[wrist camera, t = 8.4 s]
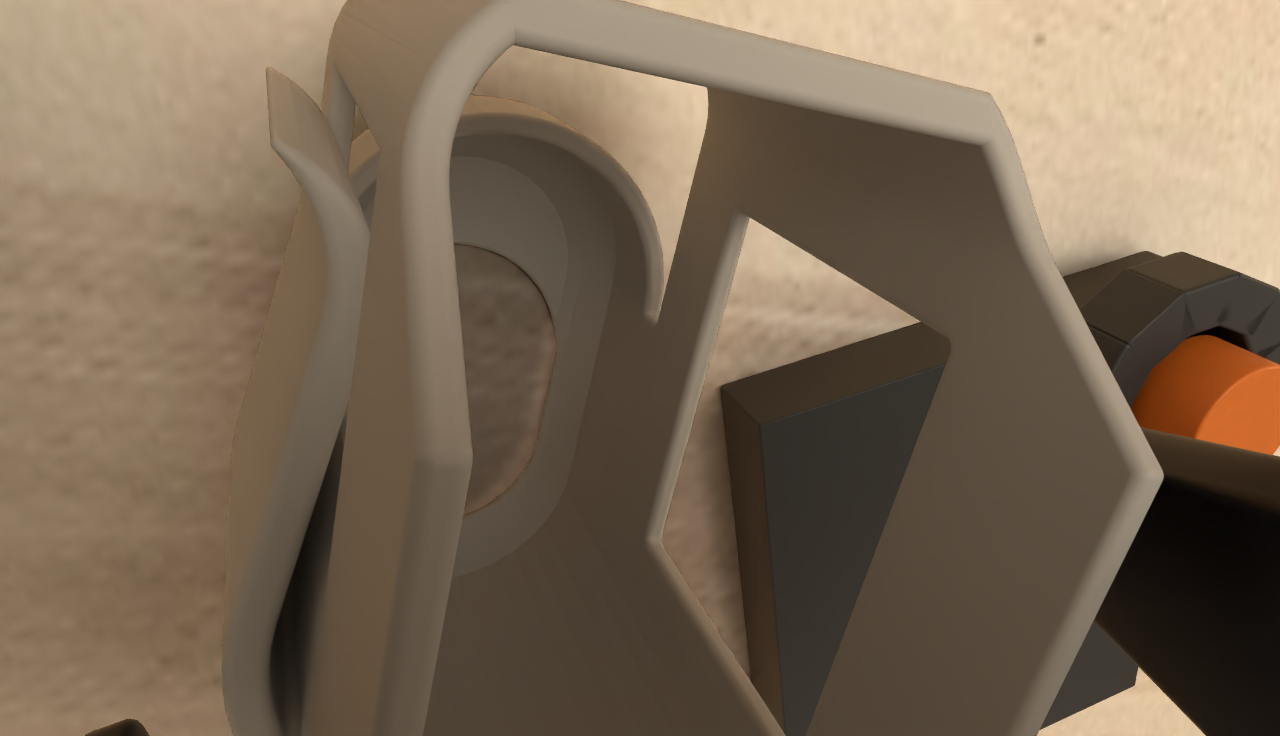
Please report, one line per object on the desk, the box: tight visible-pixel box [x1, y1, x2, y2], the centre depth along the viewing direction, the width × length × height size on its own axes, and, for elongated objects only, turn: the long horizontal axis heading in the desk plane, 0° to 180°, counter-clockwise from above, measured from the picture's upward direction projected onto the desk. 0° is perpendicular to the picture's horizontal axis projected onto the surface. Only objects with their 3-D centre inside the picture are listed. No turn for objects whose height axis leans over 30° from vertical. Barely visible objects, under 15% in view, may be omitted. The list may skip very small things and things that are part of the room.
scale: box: [721, 251, 1280, 736], centre depth 24 cm, size 15×13×4 cm
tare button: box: [1131, 335, 1280, 455], centre depth 20 cm, size 3×3×2 cm
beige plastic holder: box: [222, 0, 1164, 736], centre depth 12 cm, size 7×12×12 cm, turn 165°
